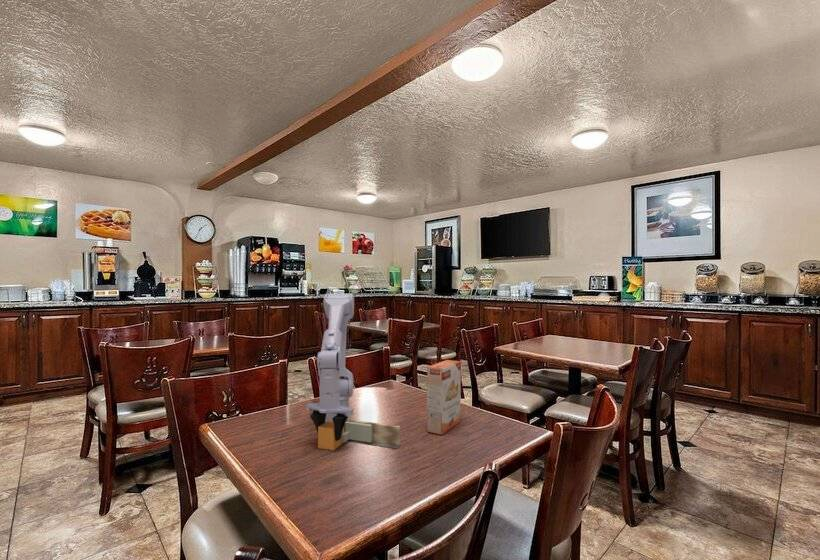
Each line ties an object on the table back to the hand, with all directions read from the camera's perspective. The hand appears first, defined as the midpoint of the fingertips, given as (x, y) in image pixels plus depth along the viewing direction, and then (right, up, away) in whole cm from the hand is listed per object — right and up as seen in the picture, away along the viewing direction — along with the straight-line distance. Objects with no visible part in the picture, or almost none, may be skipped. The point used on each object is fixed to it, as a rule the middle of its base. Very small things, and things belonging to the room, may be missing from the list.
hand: (329, 438), depth 111 cm
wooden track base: (+11, -2, +2) cm, 12 cm away
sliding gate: (+7, -2, +2) cm, 8 cm away
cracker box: (+35, -3, +14) cm, 38 cm away
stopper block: (0, -2, +1) cm, 2 cm away
